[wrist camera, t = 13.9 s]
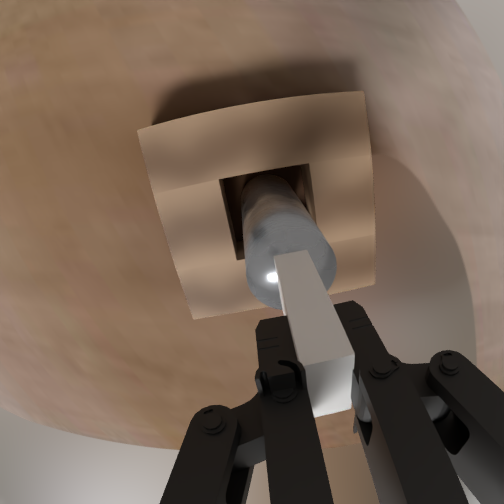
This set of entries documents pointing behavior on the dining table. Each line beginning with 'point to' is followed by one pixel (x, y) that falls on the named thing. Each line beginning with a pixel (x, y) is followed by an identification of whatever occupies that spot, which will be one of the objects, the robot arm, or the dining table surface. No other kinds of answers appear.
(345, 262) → the jig
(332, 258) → the grey metal peg
